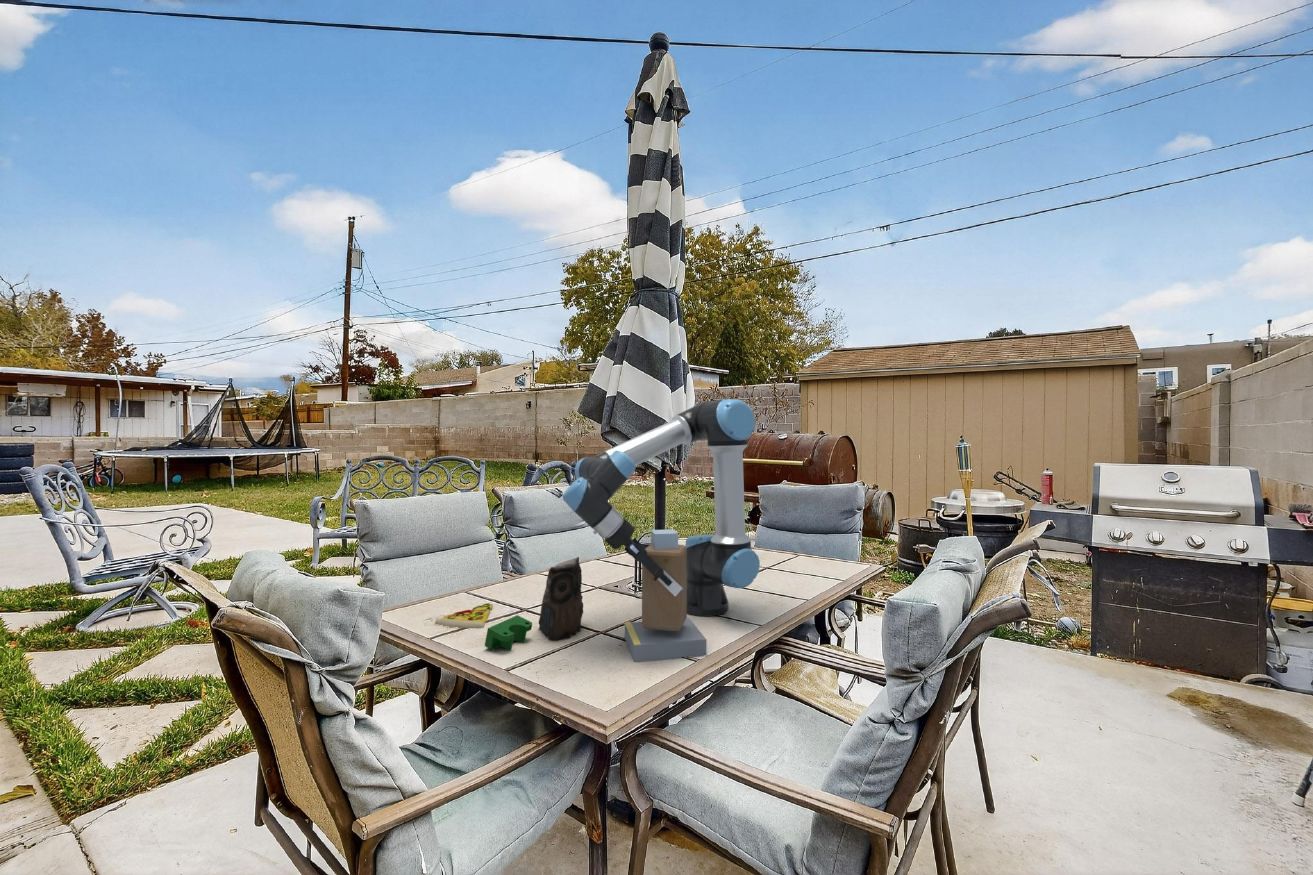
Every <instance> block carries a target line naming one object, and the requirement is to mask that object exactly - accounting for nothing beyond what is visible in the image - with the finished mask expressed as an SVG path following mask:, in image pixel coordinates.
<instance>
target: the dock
mask: <svg viewBox="0 0 1313 875" xmlns="http://www.w3.org/2000/svg"><path fill="white" fill-rule="evenodd" d="M624 640H625V642H626V644H627V647H628V649H629V652H630V654H631V657H632V660H633V662H634V663H637V662H638V663H641V662H647V661H648V662H650V661H659V660H660V661H662V660H672V659H683V658H682V657H684V658H688V657H687V656H695V657H701V656H700V655H706V656H707V638H706V637H705V636H704V634H703V633H702V632H701V631H700V630H699V628H698V627H697V626H696V625H695V623H694V622H693V621H692V619H691V618H690V617H687V618H686V620H685V622H684V624H683V625H682V627H681V629H680V630H679V631H667V630H655V629H645V628H643V626H642V621H633V622H631V621H626V622H625V621H624Z"/></svg>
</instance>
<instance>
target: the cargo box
mask: <svg viewBox="0 0 1313 875" xmlns="http://www.w3.org/2000/svg"><path fill="white" fill-rule="evenodd" d="M650 545H651V546H652V547H653V548H654V550H668V549H678V545H679V533H678V532H677V530H675V529H673V528H672V529H651V530H650Z"/></svg>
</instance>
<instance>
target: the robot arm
mask: <svg viewBox="0 0 1313 875" xmlns="http://www.w3.org/2000/svg"><path fill="white" fill-rule="evenodd" d="M755 429H756V416H755V413H754V412H753V410H752V408H751V407H750V406H749V405H748V403H746V402H744V401H743V400H741V399H735V398H733V399H732V398H731V399H730V398H727V399H726V398H725V399H719V400H711V401H710V400H709V401H704V402H700V403H698V404H696V405H693V406H691V407H690V408H688V409H686V410H684V411H682V412H680V413H678V414H676V415H674V416H673V417H672V418H671V420H670V421H669V422H666V423H663V424H662V425H659V426H657V427H654V428H653V429H651V430H649V431H646V432H644V433H642V434H639V435H637V436H635V437H632V438H631V439H629V440H627V441H625V442H622V443H620V444H618V445H616V446H614V447H611V448H609V449H607V450H604V451H603V452H601V453H598V454H596V455H594V456H586V457H582V458H581V459H579V460H578V462H576V464H575V468H574V474H575V477H576V478H577V479H575V480H574V481H573V482H572V484H570V485H569V486H568V487H567V489H566V490H565V491H564V492H563V494H562V500H563V501H564V503H565V504H566V505H568V507H569V508H570V509H571V510H572V512H574V513H575V514H576V515H577V516H578V517H579V518H580V519H581V520H583V521H584V522H585V523H586V524H587V525H588V526H589V527H590V528H591V529H592V530H593V531H592V532H593V534H594V535H597V534H598V536H599V537H601V538H602V539H604V541H605V543H606V544H608V545H609V546H610V547H611V548H612V549H613V550H619V549H620V548H621V547H622V546H624V547H625V548H623V550H625V552H626V553H627V554H628V555H629V556H631V557H632V559H634V560H635V561H636V562H640V564H641V565H642V564H643V565H644V566H645V567H646V568H647V569H648V570H649V571H650V572H651V573H652V574H653V575H654V580H655V581H656V580H658V581H659V582H661V583H662V584H663V585H664V586H665V587H666V588H667V589H668V590H669V591H670V592H671V593H672V594H673V595H674V596H676V595H677V594H678V593H679V592H680V591H681V590H682V589H683V588H682V587H681V586H680V585H679V584H678V583H677V582H676V581H675V580H674V579H673V578H672V577H671V576H669V575H668V574H667V573H666V572H665V571H664V570H663V569H661V568H660V567H659V566H658V565H657V564H656V563H655V562H654V561H653V560H652V559H651V558H650V557H649V556H648V555H647V551H646V550H645V549H646V548H644V547H643V545H642V543H641V542H640V541H639V540H638V539H637V538H636V537H634V538H633V537H632V536H633V534H634V533H635V527H634V526H633V525H632V523H630V521H629V520H627V519H626V518H624V516H623V514H621V513H620V512H619V511H618V509H616V508H615V507H614V506H613V505H612V504H611V503H609V501H610V499H611V498H612V497H613V496H614V495H615V494H616V493H617V492H618V491H619V489H621V487H622V486H623V485H624V484H625V483H626V482H627V481H628V480H629V479H630V477H631V476H632V474H634V472H635V470H636V468H637V467H636V466H638V465H641V464H642V463H645V462H646V461H649V460H650V459H653V458H655V457H656V456H659V455H661V454H663V453H665V452H667V451H670V450H672V449H674V448H675V447H677V446H680V445H684V446H685V445H686V446H687V445H690V444H692V443H695V442H698V441H703V440H704V441H705V440H706V441H707V448H708V449H709V450H710V451H711V452H712V454H713V455H712V458H713V460H712V462H713V485H714V486H713V491H714V492H713V493H714V494H713V496H714V522H715V534H714V533H712V534H710V533H709V534H697V535H692V536H689V537H687V538H686V539H685V545H684V546H686V549H687V615H692V616H697V617H698V616H699V617H713V616H721V615H723V614H725V613H726V614H727V612H728V611H729V609H730V608H729V599H728V597H727V593H726V590H725V587H724V585H725V586H726V587H728V588H734V589H744V588H747V587H748V586H750V585H751V584H752V583H753V582H754V580H755V579H756V578H757V576H758V575H759V572H760V566H761V565H760V558H759V556H758V554H757V552H755V551H754V550H753V549H752V541H751V540H752V539H751V537H749V535H747V534H746V521H745V520H746V519H745V518H746V516H745V515H746V512H745V486H744V482H745V481H744V480H745V479H744V454H743V453H744V451H745V449H746V448H747V447H748V445H749V444H748V443H749V442H748V441H749V440H748V439H749V438H750V437H751V436H752V434H753V433H754V431H755ZM657 570H658V571H657ZM656 571H657V573H656V574H655V572H656Z"/></svg>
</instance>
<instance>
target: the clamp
mask: <svg viewBox="0 0 1313 875" xmlns="http://www.w3.org/2000/svg"><path fill="white" fill-rule="evenodd" d="M532 627H533V622H531V621H530V620H528V619H526V618H524V617H522V616H520V615H517V614H516V615H515V616H512V617H511V618H508V619H506V620H504V621H503V620H502V621H501V622H498V623H497V624H494V625H492V626H490V627H488V628H487V632H486V635H485V641H484V647H485V648H487V649H489V650H490V651H494V650H496V649H498V648H500V647H502V648H504V649H506V650H508V651H511V649H512V648H513V644H514V642H518V643H521V644H525V642H526V638H527V632H529V631H531V630H532ZM497 647H498V648H497ZM493 649H494V650H493Z"/></svg>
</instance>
